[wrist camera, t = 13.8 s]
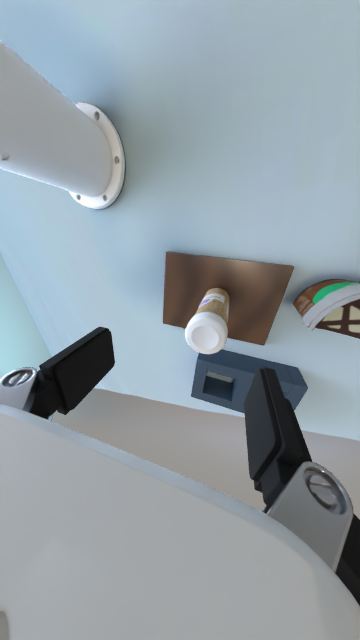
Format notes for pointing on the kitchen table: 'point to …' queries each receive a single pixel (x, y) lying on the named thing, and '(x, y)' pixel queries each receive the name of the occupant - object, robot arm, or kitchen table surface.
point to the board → (237, 280)
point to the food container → (331, 306)
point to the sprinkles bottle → (209, 323)
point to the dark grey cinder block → (241, 379)
